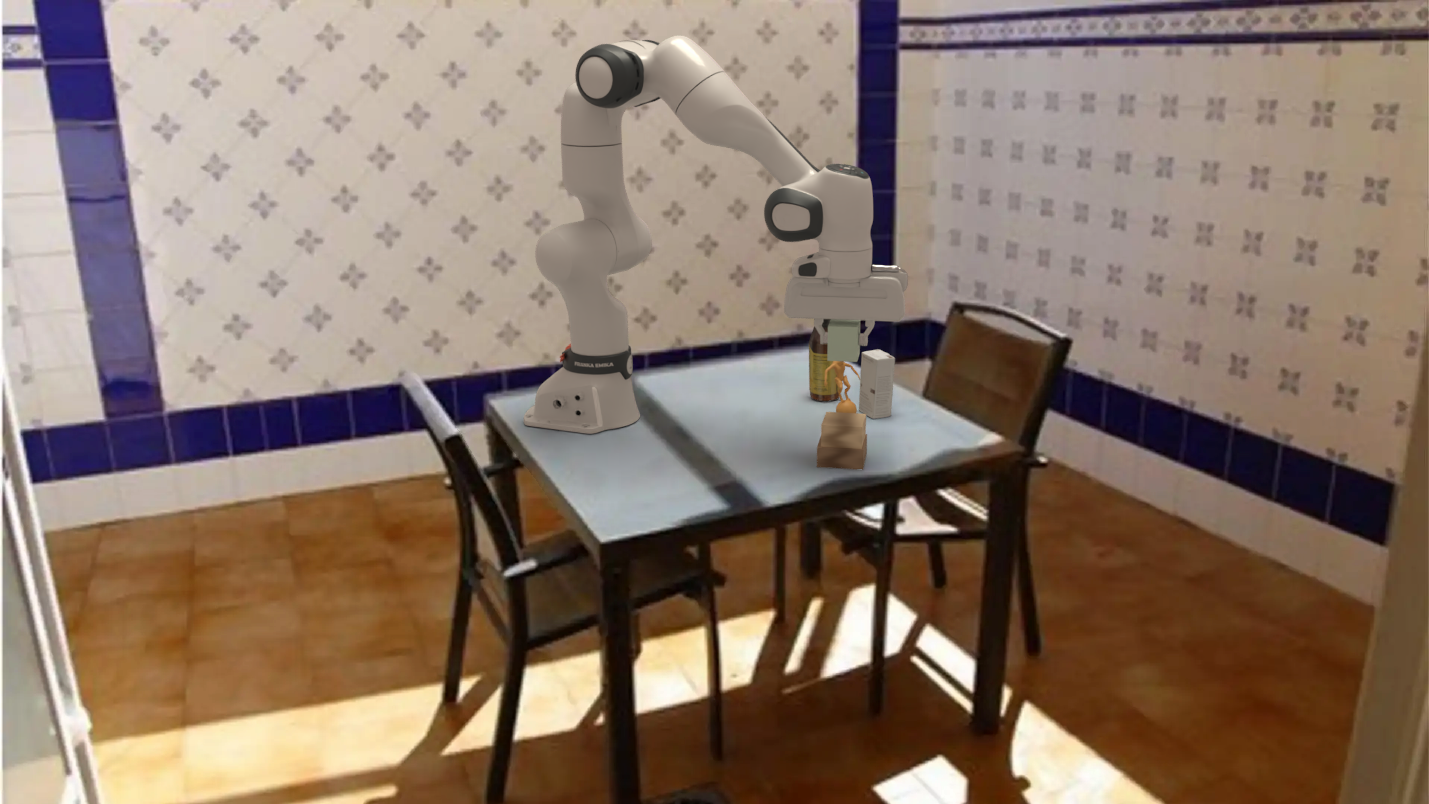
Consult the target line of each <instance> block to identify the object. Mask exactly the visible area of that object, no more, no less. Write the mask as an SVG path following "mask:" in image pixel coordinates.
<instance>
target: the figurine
mask: <svg viewBox="0 0 1429 804" xmlns="http://www.w3.org/2000/svg"><path fill="white" fill-rule="evenodd" d="M846 368H850V369H851V370H852V371H853V373H854V374H855V375H856V376H857V377H858V380H859V381H860V375H859V374H858V372H857V370H856V369H855V368H854V366H853V365H852V364H850V363H848V362H845V361H833V363H832V364H831V366H830V367H828V368H827V369H826V370H825V381H824V386H826V385H827V384H828V383H827V382H826V381H827V372H828V371H830V370H831V369H834V371H835V373H836V374H837V377H836V378H835V382H836V384H837V386H838V388H839V389H840V390H838V393H839V400H840V402H839V401H838V403H837V405H836V407H835V412H840V413H858V410H857V406H856V404H855V403H854V402H853V401H852V400H851V398H849V396H848V392H849V391H850V389H851V387H852V385H851V384H850V382H849V380H848V376H847V375H845V374H844V373H845V370H846ZM843 385H844V386H845V388H844V387H843ZM827 387H828V386H827ZM843 389H844V396H845V399H843V396H842V394H841V393H842V391H843Z"/></svg>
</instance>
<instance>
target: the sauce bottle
mask: <svg viewBox="0 0 1429 804" xmlns="http://www.w3.org/2000/svg"><path fill="white" fill-rule="evenodd" d="M830 320H831V319H823V323H822V327H823V329H824V331H825V332H828V325H829V323H830ZM813 326H814V325H813ZM827 352H828V344H820V334H819V333H818V331H817V329H816V328H815V326H814V327H813V329H812V332H811V334H810V338H809V341H808V368H809V369H808V375H809V376H808V381H809V383H808V384H809V387H808V388H809V389H808V390H809V396H810V398H811V399H813V400H815V401H818V402H819V401H820V402H823V403H825V402H826V403H827V402H830V401H831V402H832V401H836V400H838V399H840V397H839V393H838V390H840V389H839V388H838V386H837V384H836V382H835V378H836V377H837V374H836V373H835V371H834V369H831V370H830V371H828V372H827V381H826V382H827V383H828V384H827V385H826V386H824V381H825V370H826V369H827V368H828V367H830V366H831V364H832V363H833V361H827ZM827 386H828V387H827Z"/></svg>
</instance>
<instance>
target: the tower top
mask: <svg viewBox="0 0 1429 804" xmlns="http://www.w3.org/2000/svg"><path fill="white" fill-rule="evenodd" d="M820 425H821V426H820V427H821V428H820V437H821V447H835V448H852V449H862V446H863V443H864V439H865V436H866V434H867V432H866V431H867V415H866V414H864V413H859V412H856V413H840V412H836V411H835V412H834V411H826V412H825V414H824V416H823V419H822V422H821V424H820Z"/></svg>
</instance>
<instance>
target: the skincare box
mask: <svg viewBox="0 0 1429 804" xmlns="http://www.w3.org/2000/svg"><path fill="white" fill-rule="evenodd" d="M860 359H861V363H860V375H859V377H860V380H859V395H858V397H859V398H858V410H859V411H860V412H861V413H862V414H866V417H869V418H870V419H883V418H887V417H891V416H892V405H893V396H894V395H893V394H894V393H893V392H894V391H893V390H894V377H895V363H896V358H895V357H894V356H893V355H890V353H888V352H885V351H883V350H881V349H873V350H866V351H862V352H861V358H860Z"/></svg>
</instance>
